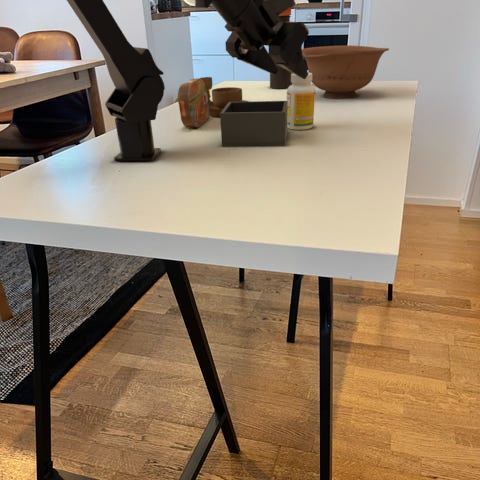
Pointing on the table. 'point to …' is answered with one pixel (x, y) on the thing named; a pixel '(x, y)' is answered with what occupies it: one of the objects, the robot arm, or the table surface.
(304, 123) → the supplement bottle
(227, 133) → the bin
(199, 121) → the tin
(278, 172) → the table surface
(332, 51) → the bowl
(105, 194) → the table surface
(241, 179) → the table surface
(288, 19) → the brown bottle
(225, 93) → the place setting
